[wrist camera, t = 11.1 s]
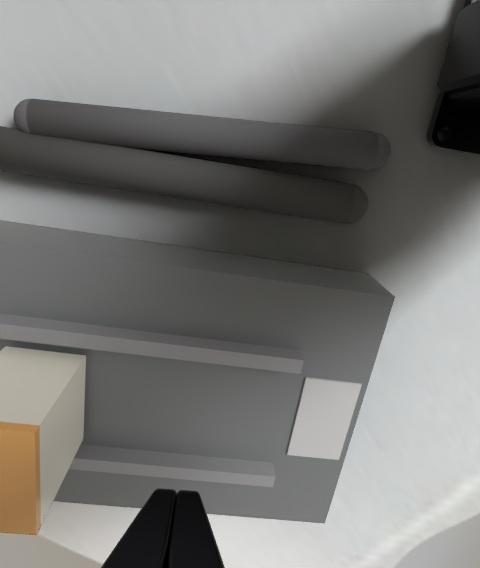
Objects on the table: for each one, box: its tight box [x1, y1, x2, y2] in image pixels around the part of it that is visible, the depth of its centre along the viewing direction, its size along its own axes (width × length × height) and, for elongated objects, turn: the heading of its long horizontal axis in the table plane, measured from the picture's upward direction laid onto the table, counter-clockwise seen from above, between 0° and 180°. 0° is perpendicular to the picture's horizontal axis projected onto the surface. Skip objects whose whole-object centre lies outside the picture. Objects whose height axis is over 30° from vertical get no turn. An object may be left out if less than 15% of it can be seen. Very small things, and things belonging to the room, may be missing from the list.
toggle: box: [0, 346, 86, 535], centre depth 13 cm, size 3×4×4 cm
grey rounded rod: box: [0, 126, 368, 224], centre depth 15 cm, size 16×2×2 cm, turn 81°
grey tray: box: [0, 221, 395, 523], centre depth 17 cm, size 18×12×4 cm, turn 81°
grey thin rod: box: [14, 99, 390, 170], centre depth 15 cm, size 14×1×1 cm, turn 85°
